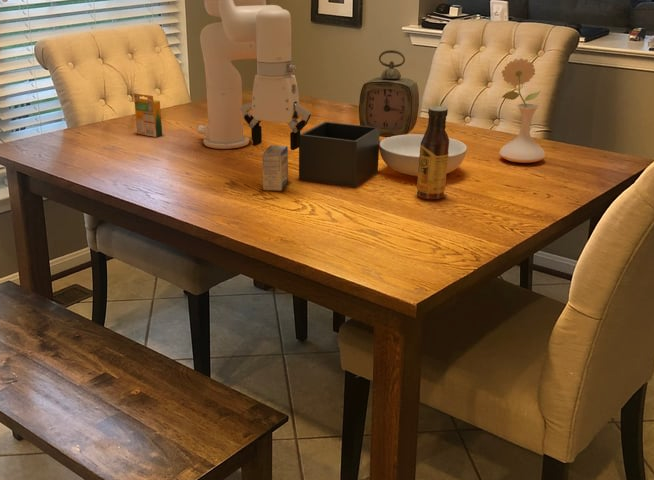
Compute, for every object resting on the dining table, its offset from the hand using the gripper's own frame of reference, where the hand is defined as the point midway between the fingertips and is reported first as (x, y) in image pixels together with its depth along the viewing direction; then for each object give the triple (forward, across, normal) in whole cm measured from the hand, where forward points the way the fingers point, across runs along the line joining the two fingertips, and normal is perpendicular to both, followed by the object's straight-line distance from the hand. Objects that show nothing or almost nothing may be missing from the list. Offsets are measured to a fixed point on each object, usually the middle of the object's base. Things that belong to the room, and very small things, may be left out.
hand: (275, 146), depth 185 cm
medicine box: (+10, 0, 0) cm, 10 cm away
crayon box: (+9, +55, -27) cm, 62 cm away
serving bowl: (+10, -27, -25) cm, 38 cm away
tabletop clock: (+9, -11, -45) cm, 48 cm away
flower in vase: (+10, -46, -46) cm, 66 cm away
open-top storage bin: (+9, -10, -14) cm, 20 cm away
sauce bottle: (+10, -35, -8) cm, 37 cm away
